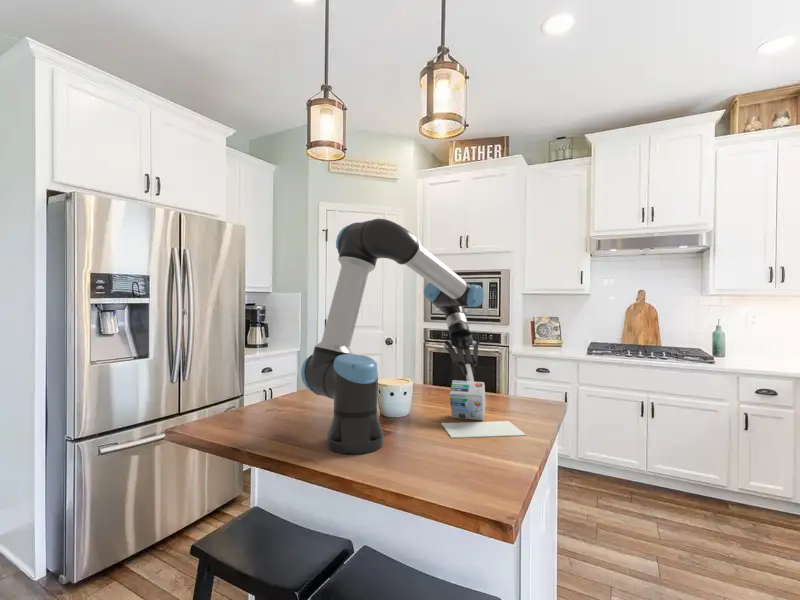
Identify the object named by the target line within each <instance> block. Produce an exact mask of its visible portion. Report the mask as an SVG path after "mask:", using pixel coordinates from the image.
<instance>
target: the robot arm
mask: <svg viewBox="0 0 800 600" xmlns="http://www.w3.org/2000/svg"><path fill="white" fill-rule="evenodd" d="M335 246H336V249H337V253H338V259H337V260H338V262H339V264H340V270H339V275H338V277H337V282H336V285H335V289H334V292H333V297H332V300H331V304H330V308H329V312H328V315H327V319H326V323H325V328H324V330H323V334H322V337H321V341H320V342H318V343H317V344H316V345H315V344H314V345H315V346H314V348H313V352H312V354H310V355H309V357H307V358H305V360H304V361H303V364H302V366H301V371H300V373H301V374H300V376H301V381H302V382H303V384H304V385H303V386H305V388H306V389H307V390H309V391H310V392H312V393H313V394H315V395H317V396H323V397H326V398H329V399H331V400H333V417H332V420H331V423H330V427H329V430H328V433H327V435H326V446H328V447H329V448H330V449H329V448H328V447H327V448H328V449H329V450H331V449H332V450H331V451H333V450H335V451H338V452H337V453H339V452H342V453H341V454H345V453H351V454H350V455H359V454H367V453H370V452H375V451H377V450H379V449H380V448H382V447H383V446H384V433H383V429H382V426H381V423H380V420H379V417H378V387H379V385H378V384H379V373H378V372H379V371H378V364H377V362H376V360H375V359H374V358H372V357H370V356H366V355H362V354H360V355H359V354H356V353H355V354H354V353H353V352H352V351H351V349H350V347H351V344H352V342H353V340H352V339H353V336H354V332H355V328H356V324H357V320H358V316H359V313H360V309H361V305H362V300H363V297H364V292H365V290H366V289H365V288H366V285H367V280H368V276H369V273H371V272H373V271H374V270H375V268H376V264H377V261H378V259H389V260H392V261H394V262H396V264H399V265H402V266H404V265H405V266H407V267H408V268H409V269H411V270H412V271H414V272H415V273H416V274H418V275H419V276H420V277H421V278H423V279H425V280H426V281H428V283H426V285H425V286H424V288H423V296H424V298H426V299H427V300H428V302H430V303H431V304H432V305H434V306H435V307H436V308H437V309H438V310H440V311H441V312H442V313H443V314H444V316H445V320H446V325H447V330H448V336H449V340H445V341H444V344H443V347H444V348H445V349H446V351H448V353H449V356H450V358H451V360H452V362H453V364H454V365H455V367H456V368H457V367H460V368H459V369H460V370H461V372H462V375H463V376H465V377H466V381H472V382H475V378H474V375H475V367H476V366H477V365H478V361H479V346H480V343H481V342H480V340H477V341H476V340H474V339H473V337H472V335H471V330H470V327H469V323H468V319H467V315H466V312H465V309H464V308H466V307H467V308H472V307H473V308H474V307H475V308H476V307H480V306H481V305H482V304H483V301H484V298H485V293H484V289H483V288H482V286H481V285H478V284H470V283H468V282H467V281H465V280H464V279H463V278H462V277H461V276H460V275H458V274H457V273H456V272H454V270H452V268H449V267H448V266H447V265H446V264H445V263H443V262H442V261H441V260H440V259H439V258H437V257H436V256H435V255H433V254H432V253H431V252H430V251H428V249H427V248H425V247H424V246H423V245H422V244H421V241H420V239H419V238H418V237H417V236H415V235H414V234H413V233H412V232H411V231H409V230H408V229H406V228H405V227H403V226H401V225H400V224H398V223H397V222H394V221H391V220H389V219H385V218H374V219H370V220H366V221H363V222H353V223H350V224H348V225H346V226H344V227H343V228H342V229H341V230H340V231H339V232H338V235H337V236H336V240H335ZM471 345H472V348H473V351H472V353H471V349H470V347H471ZM454 348H455V349H456V350H455V349H454ZM456 352H457V353H456ZM335 451H334V452H335Z"/></svg>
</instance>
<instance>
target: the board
mask: <svg viewBox="0 0 800 600" xmlns="http://www.w3.org/2000/svg"><path fill="white" fill-rule="evenodd" d="M441 426H442V428H445V429H444V430H445V431H446V433H447V434H448V435H450V436H449V437H450V438H451V439H465V438H466V439H467V438H496V437H497V438H498V437H523V436H524V437H525V436H527V435H526V433H525V432H523V431H522V430H521V429H520V428H518V427H517V426H515V425H514V424H513V423H512V422H510V421H509V420H504V421H500V420H498V421H497V420H496V421H469V422H466V421H465V422H464V421H463V422H441Z"/></svg>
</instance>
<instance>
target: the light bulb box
mask: <svg viewBox="0 0 800 600" xmlns="http://www.w3.org/2000/svg"><path fill="white" fill-rule="evenodd" d="M451 381H452V382H451V387H450V392H449V403H450V411H451V412H450V413H451V418H456V419H464V420H471V421H480V422H484V420H485V419H484V418H485V413H486V406H487V405H486V389H485V387H486V386H485V382H484V381H474V382H472V381H467V380H455V379H453V380H451Z"/></svg>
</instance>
